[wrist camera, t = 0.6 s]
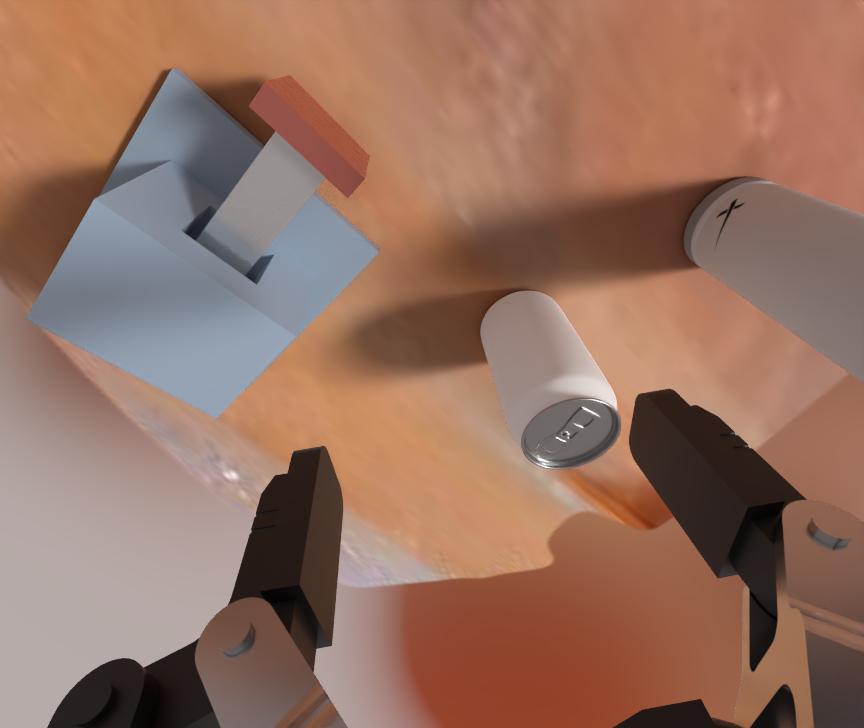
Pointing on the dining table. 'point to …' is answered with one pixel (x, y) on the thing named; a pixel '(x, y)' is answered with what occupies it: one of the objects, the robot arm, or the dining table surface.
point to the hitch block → (191, 261)
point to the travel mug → (787, 261)
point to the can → (548, 382)
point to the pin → (282, 174)
